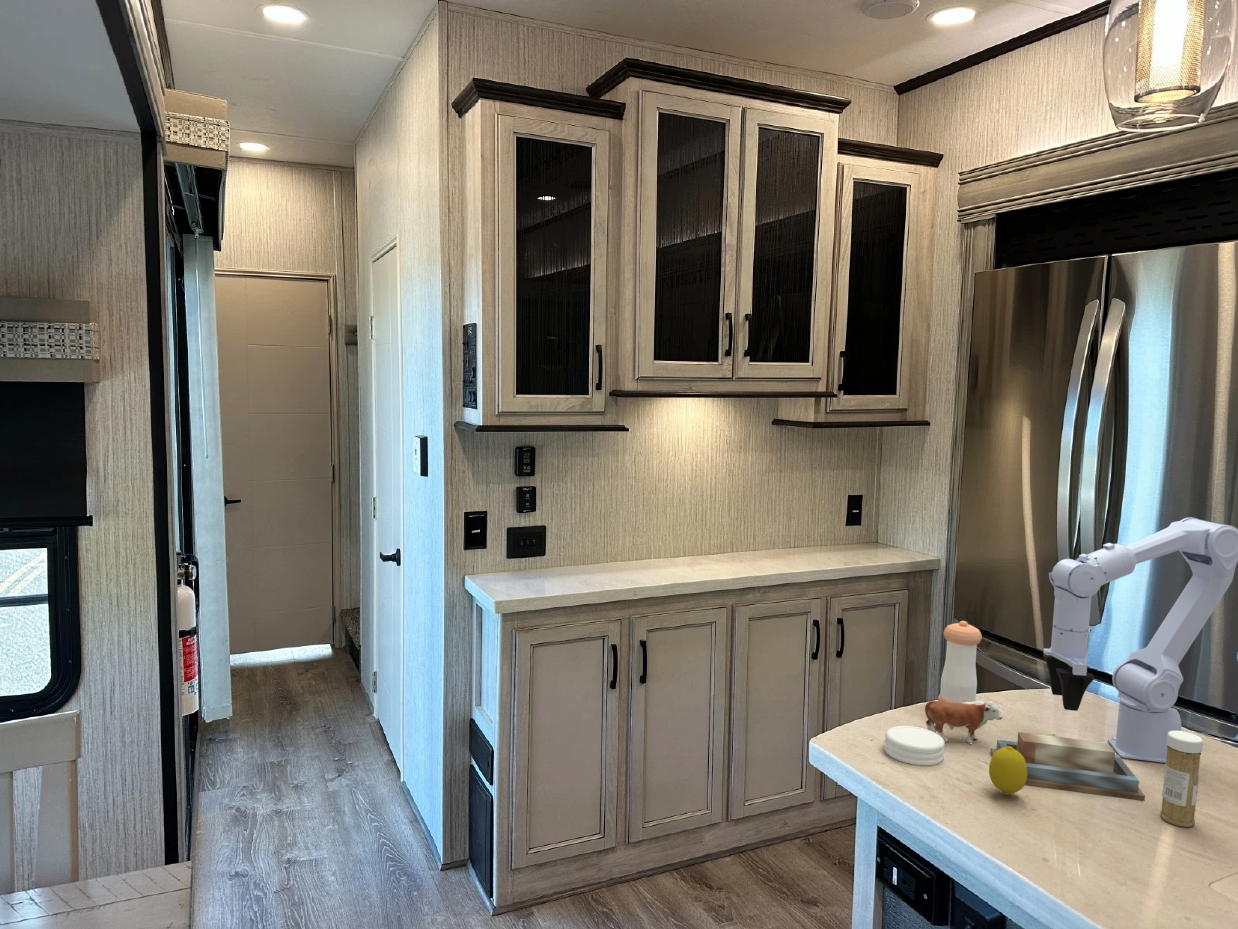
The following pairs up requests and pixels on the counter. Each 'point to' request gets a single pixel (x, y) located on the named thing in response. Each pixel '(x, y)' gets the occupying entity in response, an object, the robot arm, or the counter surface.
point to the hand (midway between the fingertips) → (1064, 702)
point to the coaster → (914, 745)
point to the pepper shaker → (960, 663)
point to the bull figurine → (960, 716)
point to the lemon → (1008, 770)
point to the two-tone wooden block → (1066, 752)
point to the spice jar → (1181, 778)
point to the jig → (1082, 778)
